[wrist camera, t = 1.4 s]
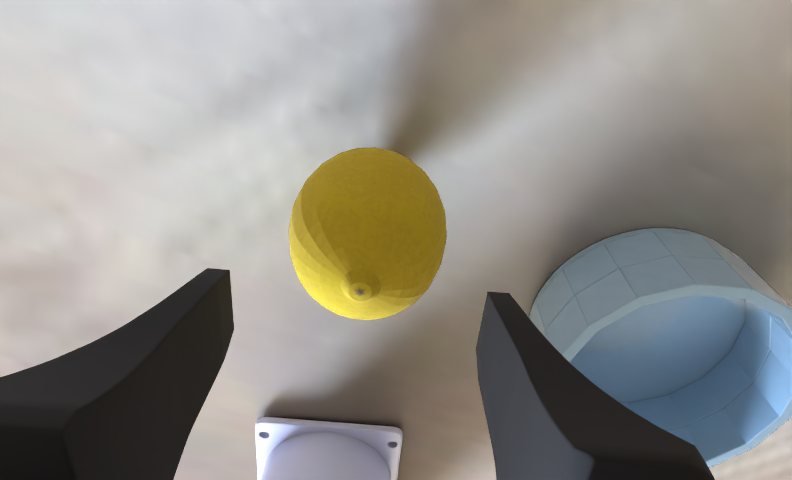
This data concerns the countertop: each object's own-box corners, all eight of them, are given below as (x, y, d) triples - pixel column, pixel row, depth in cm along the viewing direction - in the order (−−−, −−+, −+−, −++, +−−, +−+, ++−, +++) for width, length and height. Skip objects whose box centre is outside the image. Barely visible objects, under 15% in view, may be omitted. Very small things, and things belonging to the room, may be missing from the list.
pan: (704, 409, 29) (750, 484, 25) (509, 394, 29) (525, 467, 25) (789, 237, 24) (864, 297, 20) (553, 217, 24) (582, 273, 20)
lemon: (462, 152, 22) (486, 251, 15) (409, 258, 25) (408, 385, 18) (335, 98, 21) (298, 178, 14) (292, 215, 24) (243, 331, 17)
